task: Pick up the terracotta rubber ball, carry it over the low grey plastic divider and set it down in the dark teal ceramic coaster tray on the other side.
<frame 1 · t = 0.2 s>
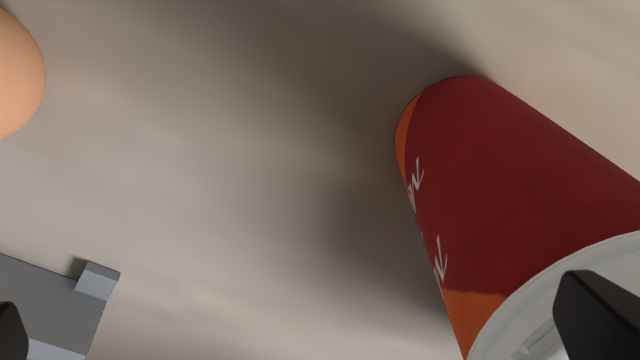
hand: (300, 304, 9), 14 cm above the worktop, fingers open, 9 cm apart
paper cup: (455, 133, 24), on the worktop
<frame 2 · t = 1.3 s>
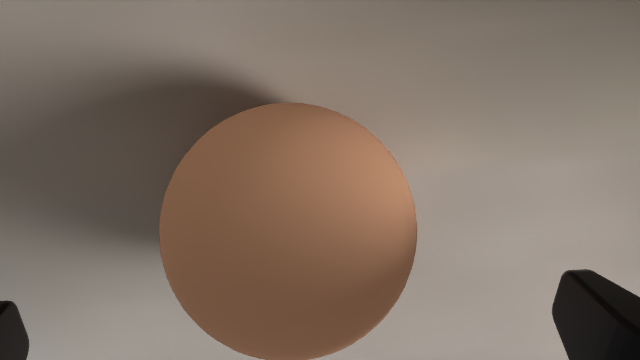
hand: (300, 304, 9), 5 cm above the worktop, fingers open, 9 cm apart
ball: (285, 169, 13), on the worktop
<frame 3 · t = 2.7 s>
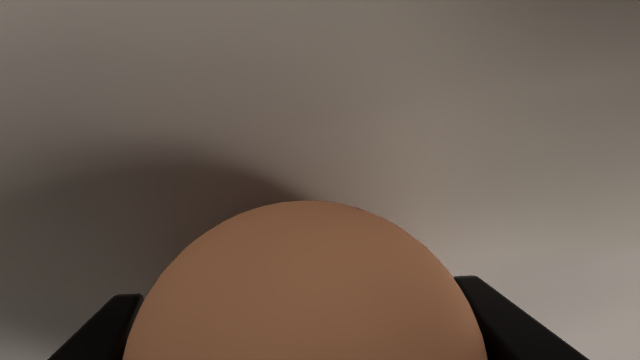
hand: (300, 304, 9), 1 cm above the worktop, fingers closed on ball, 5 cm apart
ball: (296, 264, 10), on the worktop, touching gripper
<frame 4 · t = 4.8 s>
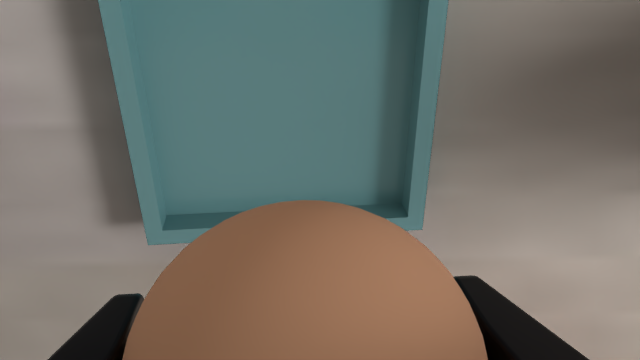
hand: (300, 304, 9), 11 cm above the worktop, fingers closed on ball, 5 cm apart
coaster tray: (281, 92, 18), on the worktop
ball: (296, 264, 10), point 10 cm above the worktop, touching gripper
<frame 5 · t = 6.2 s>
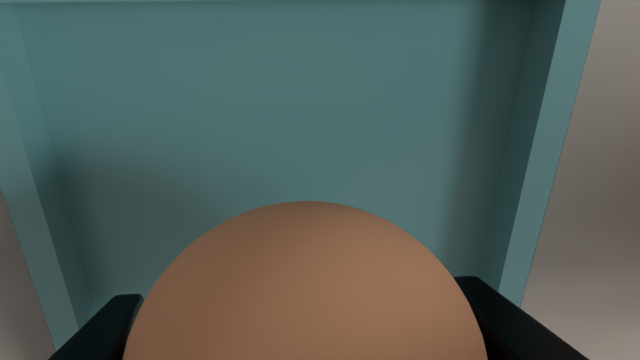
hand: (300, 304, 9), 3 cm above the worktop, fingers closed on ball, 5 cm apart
coaster tray: (289, 197, 12), on the worktop
ball: (296, 265, 10), point 2 cm above the worktop, touching gripper
when the fingers open (3 cm above the worktop, at t = 7.1 s): ball drops 1 cm, resting on coaster tray.
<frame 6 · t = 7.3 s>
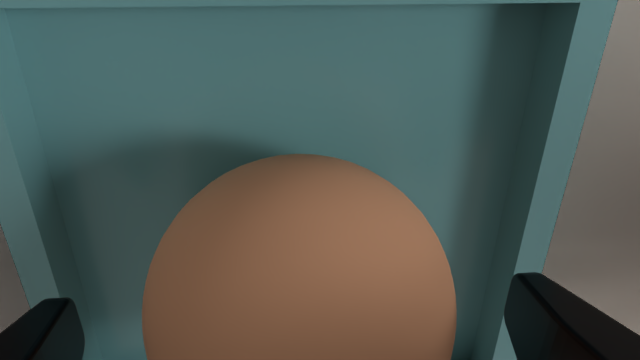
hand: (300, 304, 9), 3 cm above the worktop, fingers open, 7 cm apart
coaster tray: (290, 207, 11), on the worktop
ball: (293, 219, 11), resting on coaster tray
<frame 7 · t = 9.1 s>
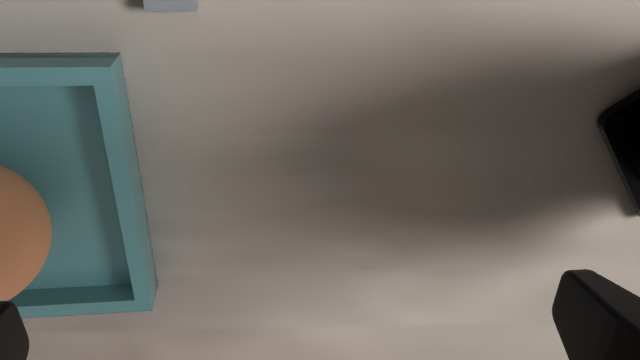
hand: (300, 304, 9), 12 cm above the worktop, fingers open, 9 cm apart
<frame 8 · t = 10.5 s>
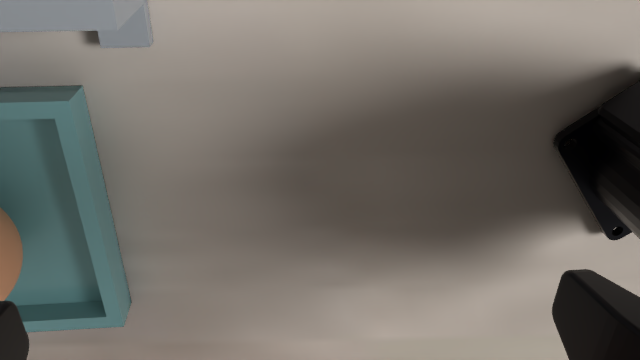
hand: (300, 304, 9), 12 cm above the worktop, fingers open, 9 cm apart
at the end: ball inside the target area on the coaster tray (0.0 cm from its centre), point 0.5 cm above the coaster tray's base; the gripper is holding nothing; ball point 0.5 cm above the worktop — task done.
